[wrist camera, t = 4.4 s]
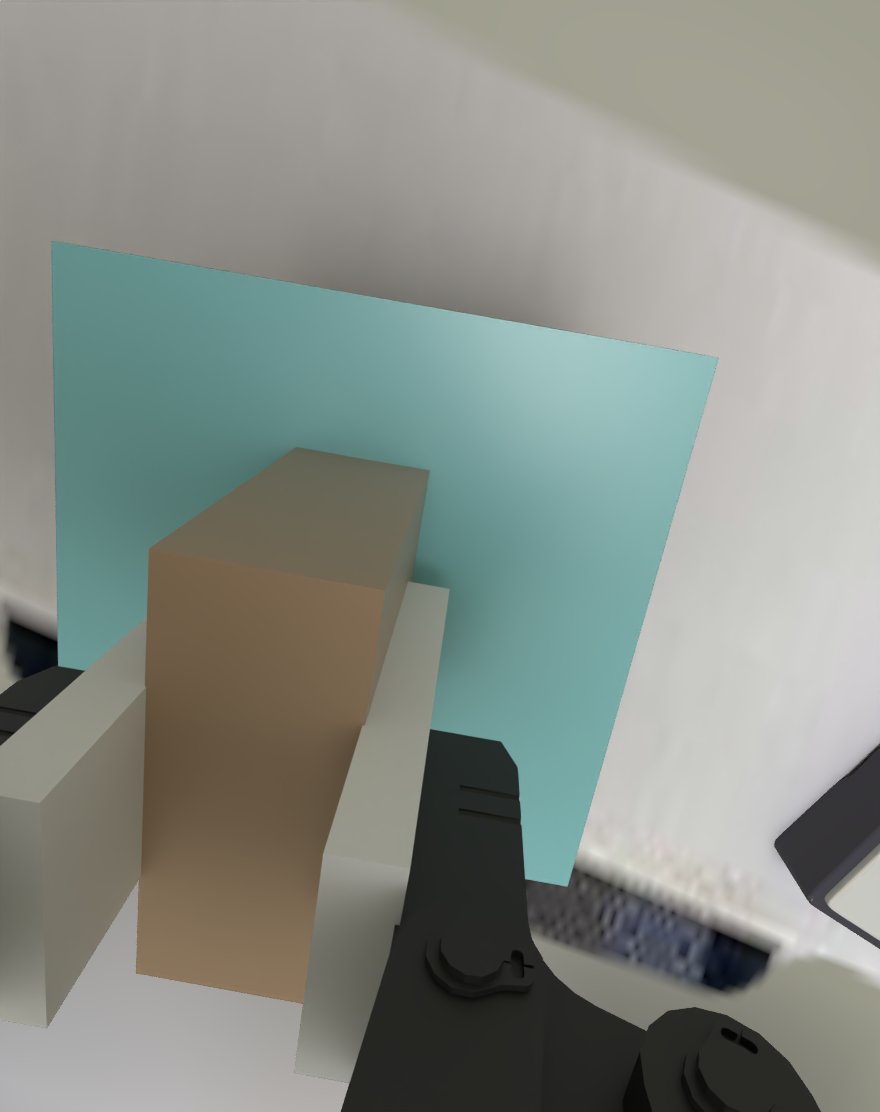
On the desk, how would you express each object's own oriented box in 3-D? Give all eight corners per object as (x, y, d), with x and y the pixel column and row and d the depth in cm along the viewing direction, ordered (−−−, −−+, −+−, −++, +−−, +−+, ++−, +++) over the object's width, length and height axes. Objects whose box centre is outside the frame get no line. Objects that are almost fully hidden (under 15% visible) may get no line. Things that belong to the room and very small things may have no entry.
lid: (122, 252, 14) (-330, 176, 6) (681, 350, 14) (923, 395, 6) (115, 732, 18) (-176, 1058, 10) (557, 812, 18) (611, 1204, 10)
